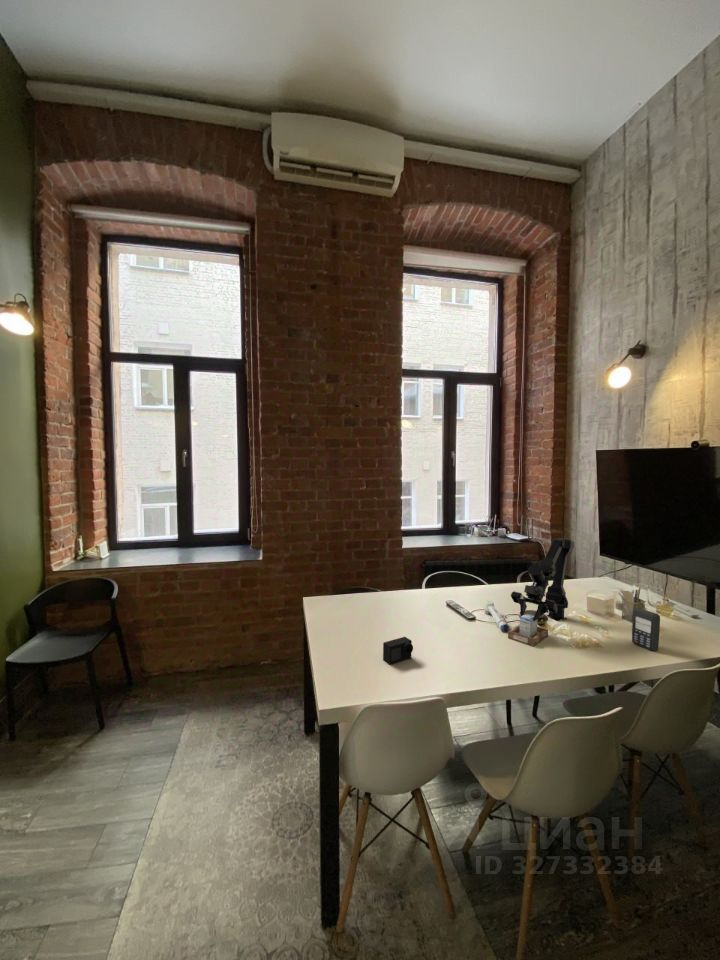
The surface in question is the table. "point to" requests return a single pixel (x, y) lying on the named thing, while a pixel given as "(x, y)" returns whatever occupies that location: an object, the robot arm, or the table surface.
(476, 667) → the table surface
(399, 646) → the digital camera
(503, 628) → the white stick
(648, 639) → the card reader
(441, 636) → the table surface
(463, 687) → the table surface
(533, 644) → the tray
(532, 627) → the medicine box
